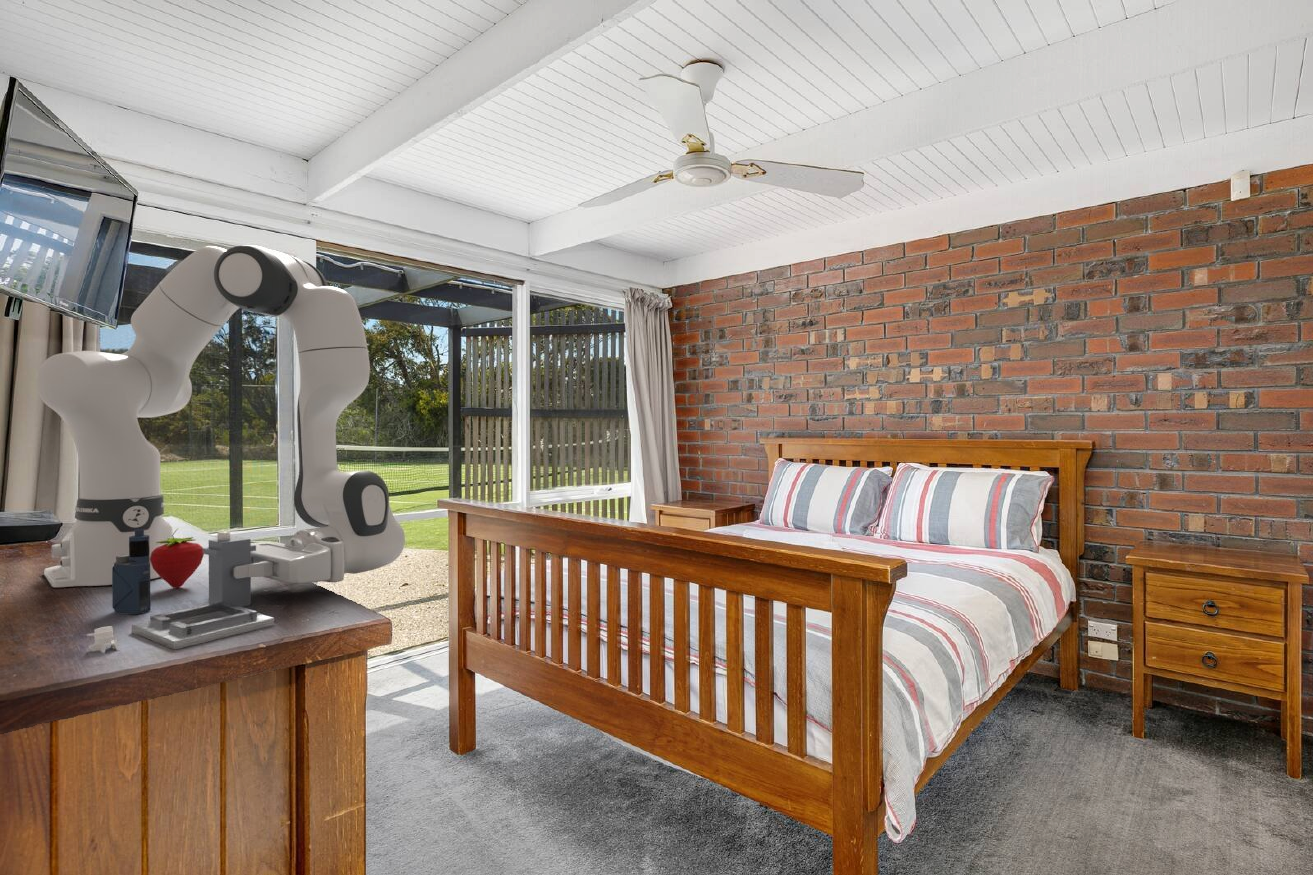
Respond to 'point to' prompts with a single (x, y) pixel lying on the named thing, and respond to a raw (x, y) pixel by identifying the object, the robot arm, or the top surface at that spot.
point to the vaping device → (132, 577)
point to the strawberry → (176, 560)
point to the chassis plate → (201, 624)
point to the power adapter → (103, 639)
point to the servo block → (228, 569)
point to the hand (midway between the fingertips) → (223, 570)
